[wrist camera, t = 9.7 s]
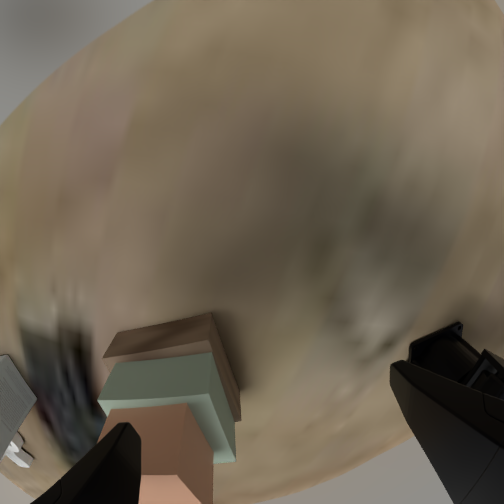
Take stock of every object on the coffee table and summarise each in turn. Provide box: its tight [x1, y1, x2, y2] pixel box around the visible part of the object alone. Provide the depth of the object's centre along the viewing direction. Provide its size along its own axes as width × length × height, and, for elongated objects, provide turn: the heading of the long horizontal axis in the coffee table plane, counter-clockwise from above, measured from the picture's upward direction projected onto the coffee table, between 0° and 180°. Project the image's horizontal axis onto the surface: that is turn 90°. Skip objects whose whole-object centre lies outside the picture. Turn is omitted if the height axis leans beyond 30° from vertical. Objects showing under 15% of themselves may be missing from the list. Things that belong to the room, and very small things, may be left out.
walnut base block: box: [102, 313, 241, 422], centre depth 21 cm, size 8×8×4 cm
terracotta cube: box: [97, 403, 214, 504], centre depth 13 cm, size 5×5×5 cm
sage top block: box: [98, 352, 236, 464], centre depth 17 cm, size 7×7×4 cm
